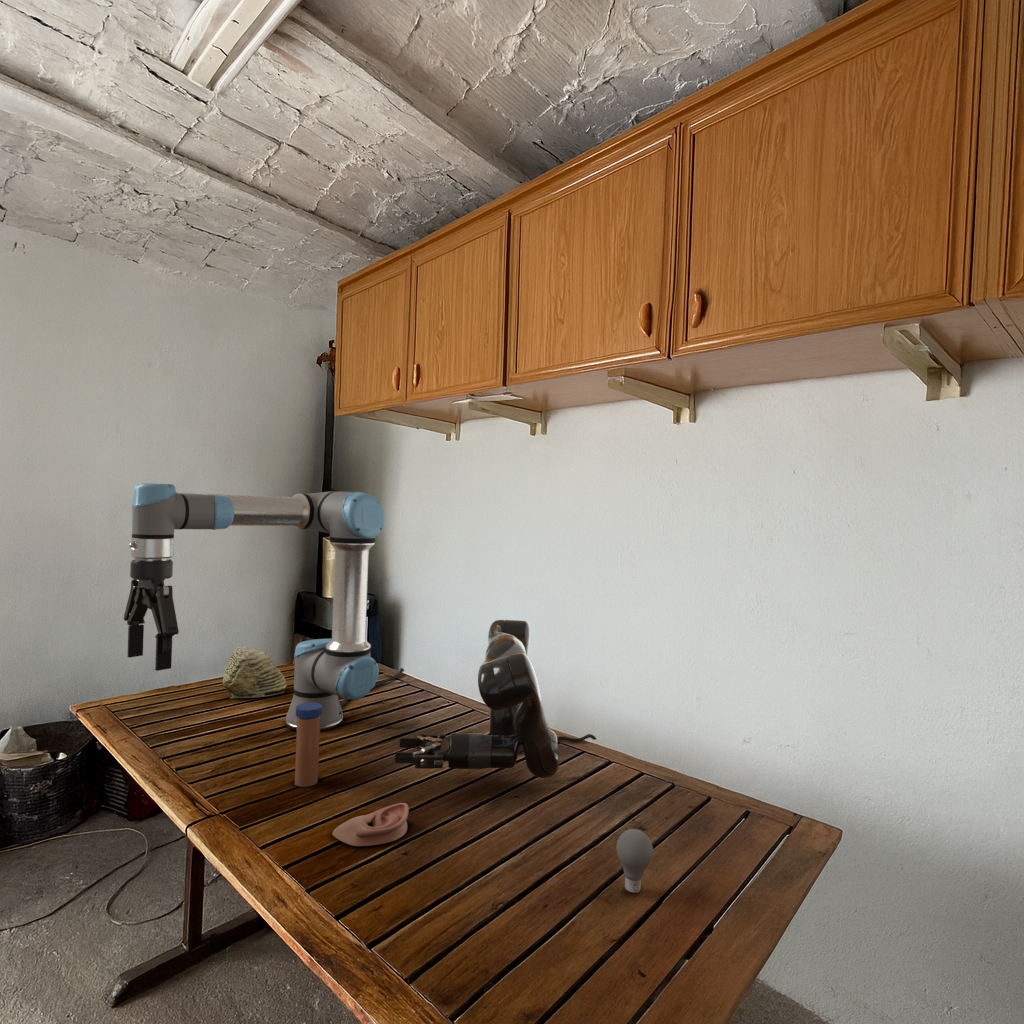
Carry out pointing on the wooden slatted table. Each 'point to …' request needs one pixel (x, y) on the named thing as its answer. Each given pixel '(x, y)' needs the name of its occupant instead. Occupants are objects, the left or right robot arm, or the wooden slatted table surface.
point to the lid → (308, 710)
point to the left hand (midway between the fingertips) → (148, 662)
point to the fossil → (252, 674)
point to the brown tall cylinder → (307, 751)
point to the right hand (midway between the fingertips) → (397, 749)
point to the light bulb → (634, 857)
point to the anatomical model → (374, 826)
